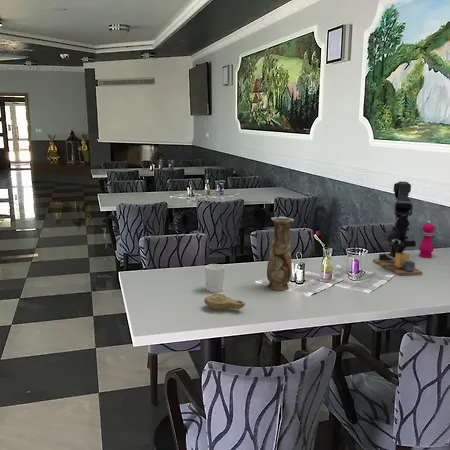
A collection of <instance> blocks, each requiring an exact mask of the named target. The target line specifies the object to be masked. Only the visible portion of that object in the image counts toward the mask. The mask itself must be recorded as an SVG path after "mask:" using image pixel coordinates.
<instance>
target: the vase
mask: <svg viewBox="0 0 450 450" xmlns="http://www.w3.org/2000/svg"><path fill="white" fill-rule="evenodd" d="M270 219H271V221H272V223H273V226H274V229H273V234H272V235H273V236H272V241H271V245H270V252H269V257H268V261H267V266H266V268H267V269H266V278H267V280H268V281H269V283H268V285H267V287H268V288H269V289H271V290H276V291H286V290H289V288H290V287H289V285H288V283H289V282H290V281H291V279H292V271H293V265H292V251H291V249H292V248H291V236H290V235H291V233H290V232H291V231H290V230H291V229H290V228H291V226H292V224H293V222H294V221H295V219H294V218H291V217H286V216H281V215H280V216H278V217H277V216H274V217H271V218H270Z"/></svg>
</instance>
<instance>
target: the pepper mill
mask: <svg viewBox="0 0 450 450" xmlns="http://www.w3.org/2000/svg"><path fill="white" fill-rule="evenodd" d="M421 229H422V235H423V238H422V241H421V243H420V245H419V248H418V250H419V254H418V256H419V257H420V258H424V259H431V258H432V256H433V254H432V253H433V252H434V245H433V242H432V238H433V237H432V236H433V234H434V233H433V232H434V231H435V225H434V224H433V223H432V222H431V220H427V223H425V224H423V225H422V228H421Z"/></svg>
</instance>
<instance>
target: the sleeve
mask: <svg viewBox="0 0 450 450" xmlns="http://www.w3.org/2000/svg"><path fill="white" fill-rule="evenodd" d="M404 259H406V260H408V261H410V254H409V253H407V252H404V251H403V252H402V253H396V256H395V266H396V267H398V268H401V266H400V263H401V261H402V260H404Z"/></svg>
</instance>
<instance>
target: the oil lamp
mask: <svg viewBox="0 0 450 450" xmlns="http://www.w3.org/2000/svg"><path fill="white" fill-rule="evenodd" d="M203 302H204V304H205V305H206V306H208V307H209V308H210V309H211V310H212V311H215V312H220V311H223V310H227V309H231V310H241V309H242V308H244V307H245V305H246V303H245V301H242V300H238V299H237V300H236V299H232V298H231V297H228V296H226V295H225V294H222V293H212V294H211V295H209V296H206V297H205V298H204V301H203Z"/></svg>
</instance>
